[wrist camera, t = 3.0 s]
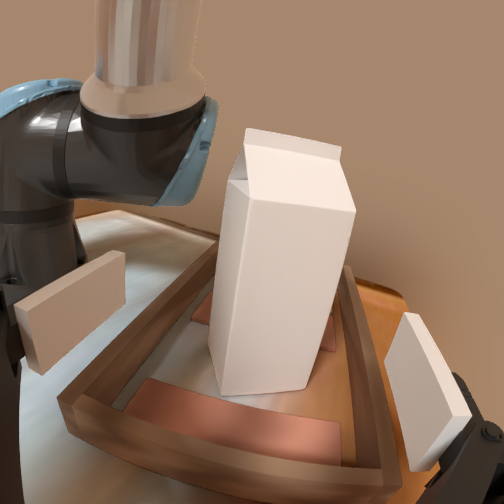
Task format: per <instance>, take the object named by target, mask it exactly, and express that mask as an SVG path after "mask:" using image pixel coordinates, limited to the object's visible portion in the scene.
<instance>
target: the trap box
mask: <svg viewBox="0 0 504 504" xmlns="http://www.w3.org/2000/svg"><path fill="white" fill-rule="evenodd" d="M219 241H220V239H219V240H218V241H217V242H215V243H214V244H213V245H212V246H211V247H210V248H209V249H208V250H207V251H206V252H205V253H204V254H203V255H201V256H200V257H199V258H198V259H197V260H196V261H195V262H194V263H193V264H192V265H191V266H190V267H189V268H188V269H186V270H185V271H184V272H183V273H182V274H181V275H180V276H179V277H178V278H177V279H176V280H175V281H174V282H173V283H172V284H171V285H170V286H168V287H167V288H166V289H165V290H164V291H163V292H162V293H161V294H160V295H159V296H158V297H157V298H156V299H155V300H154V301H153V302H152V303H151V304H150V305H149V306H148V307H147V308H146V309H144V310H143V311H142V312H141V313H140V314H139V315H138V316H137V317H136V318H135V319H134V320H133V321H132V322H131V323H130V324H129V325H128V326H127V327H126V328H125V329H124V330H123V331H122V332H121V333H120V334H119V335H118V336H117V337H116V338H115V339H114V340H113V341H112V342H111V343H110V344H109V345H108V346H107V347H106V348H105V349H104V350H103V351H102V352H101V353H100V354H99V355H98V356H97V357H96V358H95V359H94V360H93V361H92V362H91V363H90V364H89V365H88V366H87V367H86V368H85V369H84V370H83V371H82V372H81V373H80V374H79V375H78V376H77V377H76V378H75V379H74V380H73V381H72V382H71V383H70V384H69V385H68V386H67V387H66V388H65V389H64V390H63V391H62V392H61V393H60V394H59V395H58V396H57V400H58V403H59V406H60V409H61V412H62V415H63V418H64V421H65V423H66V426H67V429H68V431H69V433H71V434H73V435H75V436H76V437H78V438H80V439H82V440H84V441H86V442H88V443H90V444H92V445H94V446H96V447H98V448H100V449H102V450H104V451H106V452H108V453H110V454H112V455H115V456H117V457H119V458H121V459H124V460H126V461H128V462H130V463H133V464H135V465H138V466H140V467H143V468H145V469H148V470H150V471H153V472H156V473H158V474H161V475H164V476H167V477H170V478H172V479H175V480H178V481H181V482H185V483H188V484H191V485H194V486H198V487H201V488H205V489H208V490H212V491H216V492H219V493H223V494H227V495H232V496H236V497H240V498H245V499H250V500H255V501H260V502H265V503H271V504H385V503H386V502H387V501H388V500H389V499H390V498H391V497H392V496H393V495H394V494H395V493H396V492H397V491H398V490H399V488H400V487H401V486H402V478H401V472H400V466H399V460H398V454H397V448H396V443H395V437H394V432H393V427H392V422H391V417H390V412H389V408H388V403H387V399H386V394H385V390H384V385H383V381H382V377H381V373H380V369H379V365H378V361H377V357H376V353H375V349H374V345H373V341H372V338H371V334H370V330H369V327H368V323H367V320H366V316H365V313H364V309H363V306H362V303H361V299H360V296H359V293H358V289H357V286H356V283H355V280H354V276H353V273H352V270H351V267H350V266H348V265H343V267H342V271H341V275H340V279H339V282H338V286H337V290H338V296H339V303H340V309H341V316H342V322H343V329H344V337H345V344H346V352H347V360H348V368H349V377H350V386H351V396H352V406H353V417H354V429H355V443H356V460H357V468H352V467H341V434H340V423H338V422H330V421H323V420H316V419H310V418H304V417H298V416H293V415H287V414H282V413H277V412H272V411H267V410H262V409H258V408H253V407H249V406H245V405H241V404H236V403H232V402H228V401H225V400H221V399H217V398H213V397H210V396H206V395H203V394H199V393H196V392H192V391H189V390H186V389H182V388H179V387H176V386H173V385H170V384H167V383H164V382H161V381H158V380H155V379H152V378H149V377H147V379H146V380H145V381H144V383H143V384H142V385H141V387H140V388H139V390H138V391H137V392H136V394H135V395H134V397H133V398H132V399H131V401H130V402H129V403H128V405H127V406H126V408H125V409H124V410H123V412H121V411H119V410H116V409H114V408H112V407H109V406H110V405H111V403H112V402H113V401H114V400H115V398H116V397H117V396H118V394H119V393H120V392H121V391H122V389H123V388H124V387H125V385H126V384H127V383H128V382H129V380H130V379H131V378H132V377H133V375H134V374H135V373H136V371H137V370H138V369H139V368H140V366H141V365H142V364H143V363H144V361H145V360H146V359H147V358H148V356H149V355H150V354H151V352H152V351H153V350H154V349H155V347H156V346H157V345H158V344H159V342H160V341H161V340H162V339H163V337H164V336H165V335H166V334H167V332H168V331H169V330H170V329H171V327H172V326H173V325H174V323H175V322H176V321H177V320H178V318H179V317H180V316H181V315H182V313H183V312H184V311H185V310H186V309H187V307H188V306H189V305H190V304H191V302H192V301H193V300H194V299H195V297H196V296H197V295H198V294H199V292H200V291H201V290H202V289H203V287H204V286H205V285H206V284H207V282H208V281H209V280H210V279H211V277H212V276H213V275H214V274H215V272H216V264H217V256H218V248H219ZM213 289H214V288H213ZM212 298H213V290H211V291H210V292H209V294H208V295H207V297H206V298H205V299H204V301H203V302H202V303H201V305H200V306H199V307H198V309H197V310H196V311H195V313H194V314H193V316H192V317H191V320H193V321H196V322H200V323H204V324H208V325H210V315H211V307H212ZM329 315H332V307H331V311H330V314H329ZM319 349H321V350H327V351H332V352H335V350H336V345H335V333H334V322H333V316H329V318H328V321H327V324H326V327H325V331H324V334H323V337H322V340H321V343H320V347H319Z"/></svg>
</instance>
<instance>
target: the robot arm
mask: <svg viewBox="0 0 504 504" xmlns="http://www.w3.org/2000/svg"><path fill="white" fill-rule="evenodd" d="M202 1H203V0H95V14H94V53H95V54H94V56H95V57H94V58H95V72H94V73H93V74H92V75H91V76H90V77H89V79H88V80H87V81H86V82H85V83H82V82H81V81H78V80H74V79H66V78H59V79H53V80H47V79H43V80H36V81H30V82H26V83H22V84H19V85H16V86H13V87H10V88H8V89H6V90H4V91H3V92H2V93H0V504H25V503H24V496H23V488H22V478H21V466H20V449H19V401H20V383H21V370H22V366H21V362H20V359H21V358H23V357H24V356H26V360H27V363H28V366H29V368H30V369H32V370H33V371H35V372H37V373H39V374H40V375H43V374H45V373H46V372H47V371H48V370H49V369H50V368H51V367H52V366H53V365H55V364H56V363H57V362H58V361H59V360H60V359H61V358H62V357H64V356H65V355H66V354H67V353H68V352H69V351H70V350H72V349H73V348H74V347H75V346H76V345H77V344H78V343H80V342H81V341H82V340H83V339H84V338H85V337H87V336H88V335H89V334H90V333H91V332H92V331H94V330H95V329H96V328H97V327H98V326H99V325H101V324H102V323H103V322H104V321H105V320H106V319H108V318H109V317H110V316H111V315H112V314H114V313H115V312H116V311H117V310H118V309H119V308H121V307H122V306H123V305H124V304H125V253H124V252H120V251H116V250H111V251H109V252H107V253H105V254H103V255H101V256H100V257H98V258H96V259H94V260H92V261H90V262H88V258H87V255H86V252H85V249H84V246H83V243H82V240H81V237H80V234H79V231H78V228H77V225H76V222H75V218H74V199H85V200H95V201H105V202H115V203H125V204H136V205H144V206H151V207H158V206H184V205H187V204H188V203H190V202H191V201H192V200H193V199H194V197H195V195H196V193H197V191H198V189H199V186H200V183H201V180H202V177H203V173H204V169H205V166H206V163H207V159H208V155H209V147H210V146H211V141H212V138H213V135H214V131H215V126H216V121H217V116H218V102H217V101H216V100H214V99H211V98H210V97H209V98H208V97H207V96H206V97H205V92H206V81H205V79H204V78H203V76H202V75H201V74H200V73H199V72H198V71H197V70H196V69H195V68H194V67H193V66H192V64H193V57H194V49H195V43H196V36H197V30H198V23H199V17H200V12H201V6H202ZM384 363H385V367H386V370H387V374H388V378H389V381H390V385H391V389H392V393H393V396H394V400H395V404H396V408H397V412H398V416H399V421H400V425H401V429H402V434H403V438H404V443H405V447H406V452H407V457H408V462H409V467H410V472H420V471H430V470H431V468H432V467H433V466H434V465H435V464H436V463H437V461H439V465H440V468H441V469H440V470H439V471H438V472H437V473H436V474H435V476H434V477H433V478H432V479H431V480H430V481H429V482H428V483H427V484H426V485H425V486H424V487H426V490H425V491H424V492H423V494H422V495H421V497H420V498H419V500H418V501H417V502H416V504H504V433H503V431H502V430H501V429H500V427H499V426H497V425H496V424H494V423H492V422H490V421H484V419H483V417H482V415H481V413H480V411H479V409H478V407H477V405H476V403H475V401H474V399H473V398H472V396H471V393H470V392H469V391H468V388H467V386H466V384H465V382H464V380H462V378H460V377H459V376H458V375H457V374H456V373H453V372H450V369H449V368H448V366H447V364H446V362H445V360H444V358H443V357H442V355H441V353H440V351H439V349H438V347H437V345H436V344H435V342H434V340H433V338H432V337H431V335H430V333H429V331H428V330H427V328H426V326H425V324H424V323H423V321H422V319H421V318H420V316H419V315H418V314H413V313H408V312H404V313H403V316H402V319H401V321H400V324H399V327H398V329H397V332H396V334H395V337H394V339H393V342H392V344H391V347H390V349H389V351H388V354H387V356H386V358H385V361H384Z"/></svg>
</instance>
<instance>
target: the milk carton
mask: <svg viewBox="0 0 504 504" xmlns="http://www.w3.org/2000/svg"><path fill="white" fill-rule="evenodd" d="M341 149H342V147H339V146H335V145H331V144H327V143H322V142H318V141H313V140H308V139H304V138H299V137H295V136H290V135H284V134H279V133H274V132H268V131H262V130H257V129H250V128H246V132H245V138H244V144H243V146H242V148H241V151H240V153H239V155H238V157H237V160H236V162H235V164H234V166H233V169H232V171H231V173H230V176H229V178H228V183H227V189H226V196H225V204H224V211H223V219H222V226H221V233H220V241H219V248H218V256H217V264H216V272H215V281H214V289H213V298H212V307H211V315H210V325H209V334H208V346H209V350H210V354H211V358H212V362H213V366H214V370H215V374H216V378H217V382H218V386H219V390H220V394H221V395H222V396H236V395H252V394H265V393H276V392H286V391H295V390H302V389H305V388H306V385H307V382H308V380H309V377H310V374H311V371H312V368H313V365H314V362H315V359H316V356H317V353H318V350H319V347H320V343H321V340H322V337H323V334H324V331H325V327H326V324H327V321H328V318H329V314H330V311H331V307H332V304H333V300H334V297H335V293H336V290H337V286H338V282H339V279H340V275H341V271H342V267H343V264H344V260H345V256H346V251H347V247H348V244H349V240H350V235H351V231H352V227H353V223H354V218H355V214H356V209H355V206H354V202H353V199H352V197H351V193H350V190H349V188H348V185H347V182H346V179H345V176H344V173H343V171H342V168H341V165H340V162H339V160H340V154H341Z"/></svg>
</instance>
